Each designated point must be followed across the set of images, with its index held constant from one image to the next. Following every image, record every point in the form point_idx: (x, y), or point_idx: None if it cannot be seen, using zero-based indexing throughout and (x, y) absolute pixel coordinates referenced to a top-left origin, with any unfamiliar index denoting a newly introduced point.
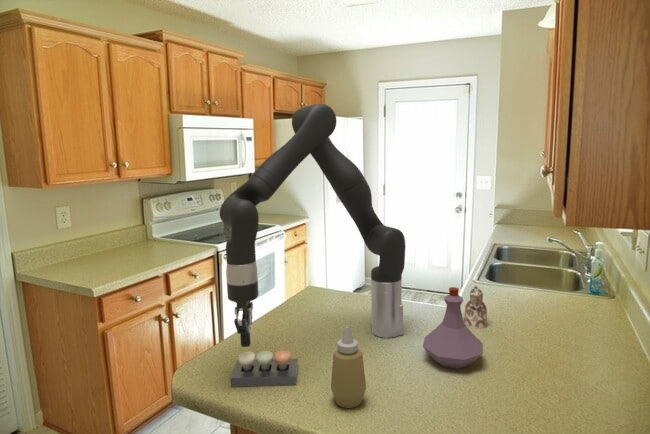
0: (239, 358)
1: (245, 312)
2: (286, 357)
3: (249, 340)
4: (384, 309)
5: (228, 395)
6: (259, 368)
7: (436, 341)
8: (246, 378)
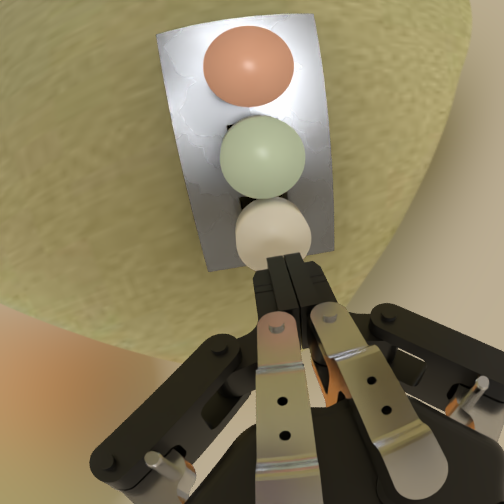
0: None
1: (489, 442)
2: (280, 38)
3: (306, 269)
4: None
5: (365, 226)
6: None
7: None
8: (332, 197)
